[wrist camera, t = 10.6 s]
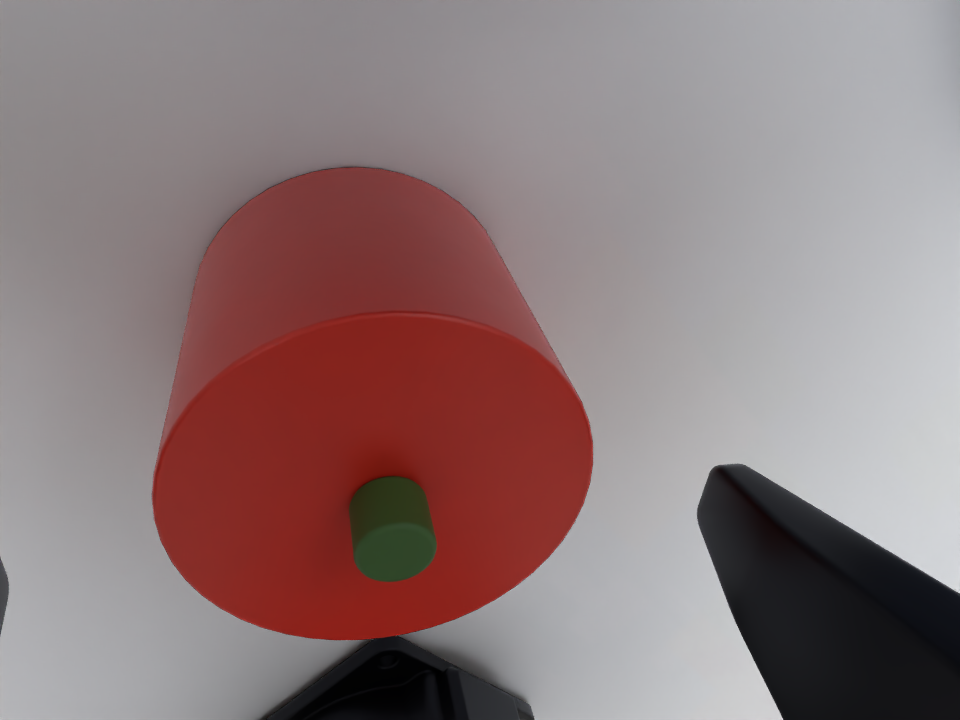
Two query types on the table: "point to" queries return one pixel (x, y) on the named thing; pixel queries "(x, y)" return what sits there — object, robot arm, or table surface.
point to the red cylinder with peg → (363, 415)
